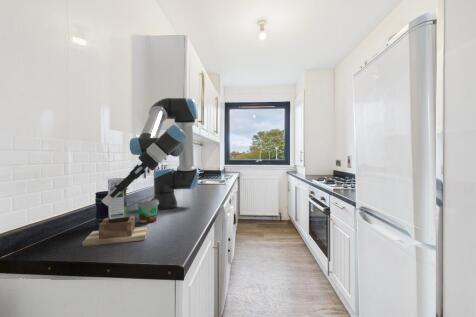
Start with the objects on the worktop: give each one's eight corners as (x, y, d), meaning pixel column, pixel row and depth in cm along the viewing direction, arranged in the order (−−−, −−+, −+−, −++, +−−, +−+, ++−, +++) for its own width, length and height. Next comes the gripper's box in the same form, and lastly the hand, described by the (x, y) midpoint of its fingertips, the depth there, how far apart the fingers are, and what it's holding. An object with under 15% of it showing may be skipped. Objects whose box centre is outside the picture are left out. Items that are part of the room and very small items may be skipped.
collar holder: (93, 234, 95) (92, 218, 95) (147, 229, 101) (147, 214, 101) (82, 246, 82) (82, 227, 82) (145, 239, 88) (145, 222, 88)
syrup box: (109, 219, 87) (109, 179, 87) (108, 216, 92) (107, 178, 92) (127, 217, 90) (126, 178, 90) (124, 214, 95) (124, 177, 95)
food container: (150, 225, 107) (149, 202, 107) (137, 224, 109) (137, 202, 108) (164, 218, 119) (163, 198, 119) (152, 218, 121) (152, 197, 121)
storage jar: (92, 226, 107) (91, 192, 107) (115, 221, 115) (115, 189, 115) (100, 230, 101) (99, 194, 101) (124, 225, 108) (124, 191, 108)
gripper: (159, 164, 86) (109, 213, 81) (160, 163, 105) (119, 203, 100) (143, 149, 85) (91, 198, 80) (146, 151, 103) (104, 191, 99)
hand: (106, 201), depth 90 cm, fingers closed on syrup box, 7 cm apart
